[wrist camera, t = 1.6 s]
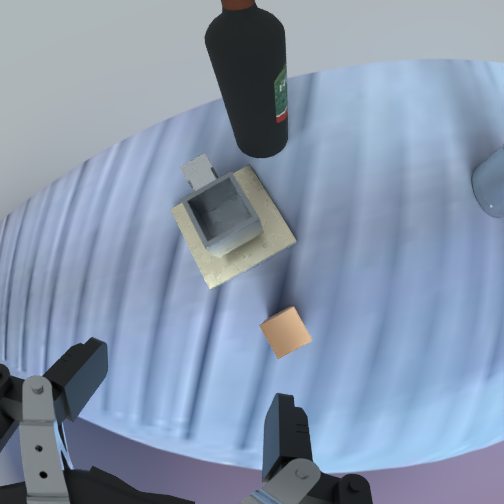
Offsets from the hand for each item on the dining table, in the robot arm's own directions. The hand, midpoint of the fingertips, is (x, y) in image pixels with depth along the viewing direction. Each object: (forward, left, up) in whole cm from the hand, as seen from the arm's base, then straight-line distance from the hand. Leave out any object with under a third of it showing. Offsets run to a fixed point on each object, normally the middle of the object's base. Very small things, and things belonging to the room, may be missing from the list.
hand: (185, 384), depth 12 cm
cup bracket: (-5, -12, -24) cm, 27 cm away
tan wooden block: (-5, +1, -24) cm, 24 cm away
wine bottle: (-15, -23, -24) cm, 36 cm away
